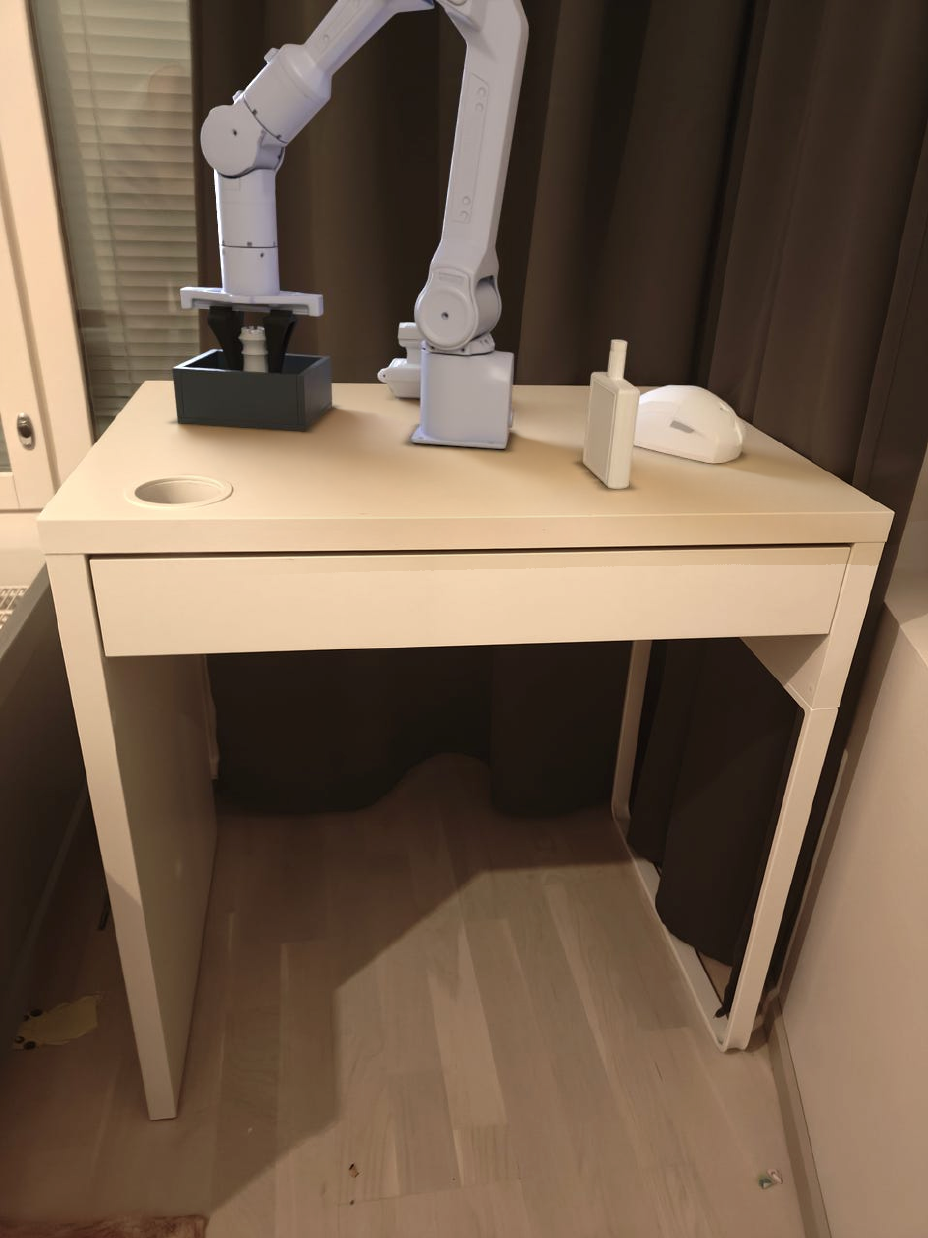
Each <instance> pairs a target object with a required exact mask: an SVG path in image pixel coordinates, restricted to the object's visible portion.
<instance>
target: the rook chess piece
mask: <svg viewBox="0 0 928 1238" xmlns="http://www.w3.org/2000/svg"><path fill="white" fill-rule="evenodd" d="M241 331H242V333H241V334H240V336H239V337H238V338H239V339H240V341H241V342H242V344H243V351H242V352H241V353H242V354H243V355H244V369H243V371H252V372H268V363H267V354H268V350H267V343H266V336H265V330H264V327H263V326H256V329H255V326H253V325H251V326H248V327H247V326H243V327H242V328H241Z"/></svg>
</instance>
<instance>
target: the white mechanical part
mask: <svg viewBox="0 0 928 1238" xmlns="http://www.w3.org/2000/svg"><path fill="white" fill-rule="evenodd" d="M397 339H398V344H399V346H401V347H402V348H405V349H406V358H398V357H396V358H394V359H392V361H391V363H390V364H389V365H388V367H386V368H382V369H380V371H378V373H377V379H378V380H379V382H381V383H384V384H387V386H388V387H389V389H390V391H391V392H392V393H393V395H394V397H397V398H399V399H416V400H421V358H422V341H423V340H424V339H423V338H422V336H421V335H420V333H419V331H418V329H417V326H416V323H415V322H410V321H409V322H399V326H398V333H397Z"/></svg>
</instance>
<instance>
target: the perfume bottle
mask: <svg viewBox="0 0 928 1238" xmlns="http://www.w3.org/2000/svg"><path fill="white" fill-rule="evenodd" d="M627 348H628V341H626V340H624V339H611V340H610V350H609V353H608V354H609V355H608V364H607V371H593V372H591V374H590V382H589V390H588V391H589V393H588V401H587V402H588V403H587V412H586V421H585V432H584V442H583V452H582V464H583V465H584V466H585V467H586V468H587V469H588V470H589V471H590V472H591V473H592V474H594V475H595V476H596V477H597V478H598V480H599V481H601V482H602V483H603V484H604V485H605V486H606V487H607V488H608V489H612V490H622V489H623V490H624V489H627V488H628V487H629V485H630V478H631V470H632V463H633V462H632V461H633V453H634V446H635V445H634V438H635V430H636V422H637V414H638V406H639V398H640V395H641V392H640V390H639V388H637V386H634V385H633V384H632V383H630V382H629V381H628V380H626V379H625V378H624V374H625V366H626V357H627V350H628V349H627Z"/></svg>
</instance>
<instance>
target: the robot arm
mask: <svg viewBox="0 0 928 1238" xmlns="http://www.w3.org/2000/svg"><path fill="white" fill-rule="evenodd" d="M435 1H436V2H437V3H439V4H440V5H441V6H442V8H443V9H444V11H445V13H446V14H447V16H448V17H449V19H450V20H451V21H452V23H453V24H454V26H455V27H456V29H457V30H458V32H459V33H460V34H461V36H462V37H463V39H464V41H465V42H466V54H465V60H464V69H463V75H462V82H461V90H460V97H459V106H458V112H457V119H456V120H457V121H456V126H455V134H454V135H455V136H454V142H453V150H452V157H451V164H450V172H449V180H448V187H447V196H446V203H445V209H444V217H443V224H442V233H441V240H440V242H439V243H438V244H439V245H438V247H437V249H436V251H435V253H434V255H433V258H432V260H431V262H430V265H429V271H428V272H429V273H428V279H427V281H426V283H425V286H424V288H423V289H422V291H420V293H419V294H418V297H417V299H416V302H415V305H414V310H413V311H414V313H413V314H414V315H413V317H414V318H413V319H414V323H416V326H417V329H418V331H419V333H420V335H421V336H422V338H423V339H424V340H423V341H422V358H421V399H420V406H419V407H420V409H419V410H420V413H419V414H420V416H419V425H418V426H417V428H416V429H415V431H414V433H412V436H411V438H410V442H411V443H414V444H424V445H426V444H427V445H440V446H453V447H455V446H456V447H467V448H468V447H470V448H485V449H499V450H503V449H506V448H507V445H508V440H509V437H510V433H511V428H513V426H514V425H513V424H514V414H515V413H514V409H512V402H513V388H514V387H513V386H514V373H515V353H513V352H509V351H501V350H500V351H498V350H495V349H496V348H495V346H496V342H495V341H494V339H493V337H492V334H491V331H493V329H494V328H495V327H496V326H497V324H498V322H499V321H500V318H501V315H502V306H503V305H502V298H501V295H500V291H499V286H498V274H499V269H500V263H499V259H498V255H497V251H496V242H497V238H498V231H499V225H500V219H501V211H502V205H503V200H504V193H505V187H506V180H507V176H508V175H507V174H508V170H509V169H508V167H509V161H510V156H511V150H512V143H513V137H514V130H515V125H516V124H515V123H516V117H517V111H518V105H519V99H520V93H521V86H522V81H523V80H522V79H523V74H524V68H525V62H526V56H527V55H526V54H527V49H528V42H529V36H530V35H529V33H530V32H529V29H530V28H529V27H530V26H529V22H528V18H527V16H526V14H525V10H524V8H523V5H522V2H521V1H522V0H435ZM433 9H435V4H434V1H433V0H337V1H336V2H335V3H334V4H333V6H332V7H331V8H330V10H329V11H328V12H327V14H326V15H325V16H324V18H323V19H321V22H319V24H318V26H317V27H316V28H315V29H314V31H313V32H312V33H311V35H309V37H308V38H307V40H306V41H305V42H304V43H303V44H294V43H286V44H285V43H284V44H283V45H282V46H281V48H279V49H278V48H276V47H272V48H270V49H269V51H268V52H267V53H266V54H265V55H264V60H265V61H266V63H267V64H266V65H265V66H264V67H263V68H262V69H261V71H260V72H259V73H258V74H257V75H256V76H255V78H254V79H252V81H251V82H250V83H249V85H248V86H247V87H246V88H245V89H244V90H238V91H236V93H235V94H234V95H233V96H232V99H233V101H234V103H233V104H231V105H225V104H223V105H219V106H215V107H213V108H212V109H211V110H210V111H209V113H208V116H207V117H206V118H205V120H204V122H203V123H202V127H201V131H200V146H201V151H202V154H203V156H204V158H205V160H206V162H207V163H208V165H209V166H210V167H211V168H212V169H213V170H214V185H215V186H214V187H215V197H216V199H215V200H216V211H217V213H216V214H217V224H218V226H217V227H218V242H219V254H220V255H219V256H220V268H221V283H222V287H194V286H193V287H192V286H186V287H181V288H180V289H179V294H180V305H181V310H182V309H183V310H184V309H185V310H193V309H202V310H203V309H204V310H209V312H208V315H207V314H206V316H205V320H206V323H207V325H208V326H209V328H210V330H211V331H212V333H213V334H214V336H215V339H216V340H217V342H218V344H219V346H220V348H221V350H223V353H224V355H225V358H226V360H227V363H228V366H229V370H236V371H243V369H244V355H243V354H242V353H241V352H242V351H243V344H242V342H241V341H240V339H239V338H238V337H239V336H240V334H241V333H242V331H241V328H242V327H244V326H245V325H244V323H245V312H253V313H269V315H268V314H267V315H266V316H263V317H262V326H263V328H264V330H265V336H266V343H267V344H266V349H267V351H268V373H282V369H283V363H284V359H285V355H286V354H287V352H288V351H287V350H288V348H289V345H290V342H291V339H292V336H293V334H294V331H295V329H296V327H297V324H298V322H299V319H300V316H299V315H303V316H309V317H321V316H322V315H324V296H323V294H317V293H316V294H315V293H304V292H295V291H285V290H281V289H280V288H281V287H280V268H279V267H280V266H279V247H278V225H277V224H278V223H277V201H276V199H277V197H276V175H277V173H278V171H279V169H280V168H281V166H282V164H283V161H284V158H285V154H286V147H287V146H288V145H289V144H290V143H291V142H292V141H293V139H294V138H295V137H296V136H297V135H298V134H299V133H300V132H301V131H302V130H303V129H304V128H305V127H306V126H307V125H308V124H309V122H310V121H312V119H313V118H314V117H315V116H316V115H317V113H318V112H319V111H320V110H321V109H322V108H324V106H325V105H326V104H327V103H328V102H329V101H330V99H331V96H332V79H333V75H334V74H335V73H336V72H337V71H338V70H339V69H340V68H342V66H343V65H344V64H345V63H346V62H347V61H349V59H351V57H353V56H354V54H356V53H357V52H358V51H359V50H360V49H361V48H362V47H363V46H364V45H365V44H366V43H367V42H368V41H369V40H370V39H371V38H372V37H373V36H374V35H375V34H376V33H377V32H378V31H379V30H380V29H381V28H382V27H383V26H385V24H386V23H387V22H388V21H389V20H390V19H392V17H393V16H394V15H396V14H398V13H404V12H405V13H406V12H414V11H416V12H417V11H426V10H433ZM245 304H246V305H245ZM249 304H250V305H249ZM262 305H264V306H262ZM265 305H267V306H265Z"/></svg>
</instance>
